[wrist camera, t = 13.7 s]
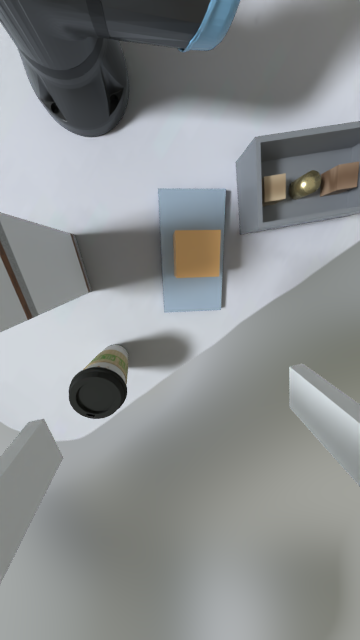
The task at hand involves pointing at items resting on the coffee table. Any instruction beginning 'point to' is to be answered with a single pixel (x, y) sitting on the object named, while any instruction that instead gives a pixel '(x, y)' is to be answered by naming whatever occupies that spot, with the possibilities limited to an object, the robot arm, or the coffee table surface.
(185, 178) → the coffee table surface
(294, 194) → the brass slug
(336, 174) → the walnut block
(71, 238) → the tall white vase
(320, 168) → the tub
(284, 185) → the pale wood block
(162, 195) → the lid
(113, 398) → the coffee cup
